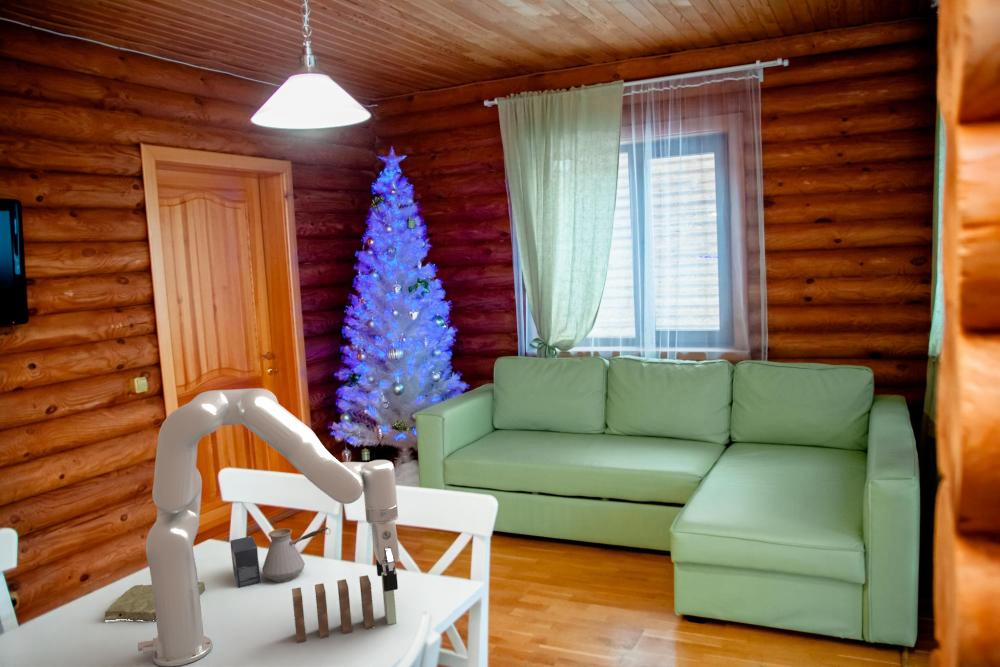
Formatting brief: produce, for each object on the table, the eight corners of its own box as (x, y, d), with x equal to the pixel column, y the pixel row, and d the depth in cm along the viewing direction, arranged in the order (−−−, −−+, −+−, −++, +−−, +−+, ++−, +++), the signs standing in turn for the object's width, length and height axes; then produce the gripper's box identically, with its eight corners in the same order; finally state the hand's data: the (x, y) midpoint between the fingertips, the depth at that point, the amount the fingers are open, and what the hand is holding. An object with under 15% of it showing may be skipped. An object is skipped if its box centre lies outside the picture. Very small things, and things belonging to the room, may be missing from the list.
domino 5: (388, 624, 189) (384, 580, 188) (384, 616, 194) (381, 572, 193) (396, 623, 190) (393, 578, 189) (393, 614, 195) (389, 571, 193)
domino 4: (366, 629, 188) (362, 584, 187) (363, 620, 192) (359, 576, 191) (374, 627, 188) (370, 582, 187) (371, 618, 193) (367, 575, 192)
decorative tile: (133, 595, 218) (131, 583, 218) (206, 590, 218) (205, 578, 217) (99, 627, 199) (97, 613, 199) (179, 622, 199) (177, 608, 199)
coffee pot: (254, 583, 219) (249, 530, 218) (278, 567, 230) (273, 516, 229) (322, 589, 213) (317, 534, 211) (344, 572, 223) (339, 520, 222)
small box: (232, 575, 226) (228, 539, 225) (256, 570, 229) (252, 535, 228) (237, 588, 217) (233, 551, 216) (261, 583, 220) (258, 546, 218)
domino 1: (297, 643, 183) (293, 597, 182) (296, 633, 188) (291, 588, 187) (306, 641, 184) (302, 595, 182) (304, 632, 188) (300, 587, 187)
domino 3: (343, 633, 186) (339, 588, 185) (341, 624, 191) (337, 580, 190) (352, 632, 187) (348, 587, 186) (349, 623, 191) (345, 579, 190)
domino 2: (320, 638, 185) (316, 592, 183) (318, 629, 189) (314, 584, 188) (329, 636, 185) (325, 591, 184) (327, 627, 190) (323, 583, 189)
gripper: (404, 521, 182) (409, 593, 184) (391, 500, 199) (396, 566, 200) (371, 526, 180) (377, 599, 182) (360, 505, 196) (366, 572, 198)
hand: (387, 582), depth 191 cm, fingers open, 9 cm apart
